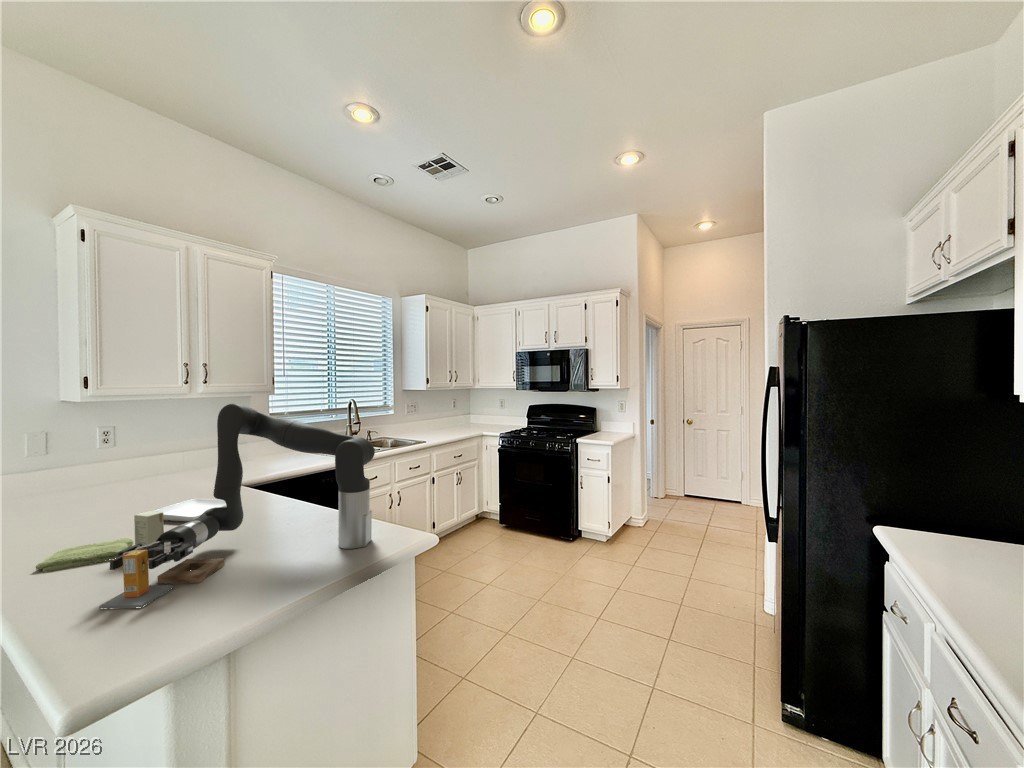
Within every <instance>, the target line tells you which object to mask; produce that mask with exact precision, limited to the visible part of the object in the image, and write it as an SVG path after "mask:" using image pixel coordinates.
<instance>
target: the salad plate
mask: <svg viewBox="0 0 1024 768" xmlns="http://www.w3.org/2000/svg"><path fill="white" fill-rule="evenodd" d="M216 507H227V505H226V502H225V501H224V500H221V499H216V498H192V499H188V500H183V501H180V502H178V503H173V504H170V505H167V506H163V507H160V508H158V509H155V510H153V511H156V512H163V520H164V521H168V520H170V522H172V521H173V522H190V521H193V520H195V519H197V518H199V517H200V516H201V515H202V514H203V513H204V512H205V511H206V510H208V509H211V508H216Z"/></svg>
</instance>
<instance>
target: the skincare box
mask: <svg viewBox="0 0 1024 768" xmlns="http://www.w3.org/2000/svg"><path fill="white" fill-rule="evenodd" d="M133 515H134V545H136V544H139V543H142V546H145V545H149V544H151V543H153V542H156V541H157V539H158V538H159V536H160V535H161V534H163V533H164V532H165V531H164V525H165V523H164V521H165V520H163V512H156V511H154V510H149V511H144V512H141V513H137V514H133Z"/></svg>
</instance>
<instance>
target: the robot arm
mask: <svg viewBox="0 0 1024 768" xmlns="http://www.w3.org/2000/svg"><path fill="white" fill-rule="evenodd" d="M216 420H217V422H216V423H217V425H216V429H217V431H216V432H217V433H216V434H217V468H216V475H215V480H214V481H215V482H214V487H213V488H214V489H213V498H214V499H218V500H224V501H225V502H226V505H227V507H216V508H211V509H208V510H206V511H205V512H204V513H203V514H202V515H201V516H200V517H199V518H197V519H195V520H193V521H186V522H185V523H182V524H180V525H178V526H176V527H174V528H171V529H169V530H166V531H164V533H163V534H161V535H160V536H159V538H158V539H157V541H156V542H153V543H151V544H149V545H145V546H142V543H139V544H136V545H135V544H133V545H132V546H130V547H129V548H127V549H124V550H122V551H120V552H118V558H116V559H114V560H110V561H109V570H110V571H116V570H117V569H119V568H121V567H123V556H125V555H127V554H129V553H131V552H132V551H137V550H147V551H148V570H154V569H156V568H157V567H159V566H162V565H163V564H168V563H170V562H171V561H173V562H175V563H176V562H177V563H178V562H179V561H181V560H183V559H185V558H186V557H188V556H189V555H191V554H193V553H194V549H197V548H198V547H199V546H201V545H202V544H204V543H205V542H207V541H208V540H211V539H212V538H214V537H215V536H216V535H217V534H218V532H227V531H232V532H233V531H235V530H237V529H238V528H240V526H241V525H242V523H243V520H244V509H243V503H242V495H241V491H242V483H243V477H244V475H243V474H244V473H243V472H244V470H243V463H242V460H241V456H240V453H239V445H238V442H239V435H248V436H254V437H260V438H264V439H266V440H267V439H268V440H269V441H271V442H272V443H274V444H275V445H278V446H280V447H283V448H286V449H289V450H292V451H296V452H300V453H308V454H319V455H320V454H322V455H323V454H324V455H330V456H331V455H332V456H334V464H335V465H334V466H335V468H334V469H335V480H336V483H337V485H338V539H337V540H338V547H339V548H341V549H346V550H350V549H351V550H352V549H358V548H363V547H367V546H368V544H369V543H370V542H371V541H372V530H373V529H372V527H373V526H372V511H373V510H371V508H370V507H371V506H370V505H371V504H370V503H371V502H370V497H371V496H370V495H371V492H370V490H371V489H370V487H371V485H370V484H371V483H370V482H371V481H370V479H369V478H368V477H366V476H365V470H364V469H365V468H364V466H365V465H367V464H369V463H370V462H371V461H372V460H373V458H374V457H375V455H376V453H375V452H376V451H375V447H374V445H373V443H372V442H371V441H369V439H367V438H364V437H359V436H355V435H354V436H353V435H347V434H341V433H337V432H334V431H331V430H328V429H325V428H322V427H319V426H315V425H313V424H309V423H306V422H303V421H298V420H295V419H289V418H279V417H275V416H272V415H269V414H266V413H264V412H261V411H259V410H257V409H255V408H252V407H250V406H245V405H242V404H238V403H229V404H226V405H224V406H223V407H222V408H221V409H220V411H219V413H218V415H217V419H216Z"/></svg>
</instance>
